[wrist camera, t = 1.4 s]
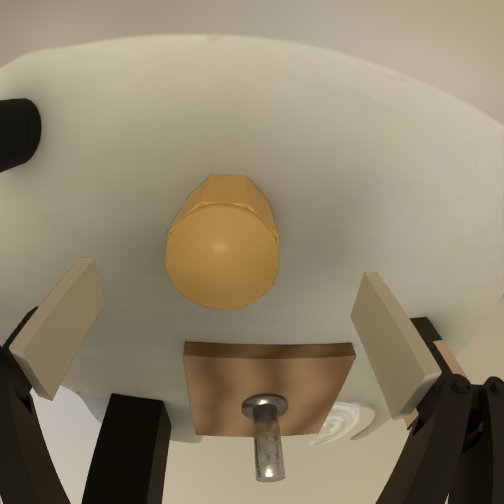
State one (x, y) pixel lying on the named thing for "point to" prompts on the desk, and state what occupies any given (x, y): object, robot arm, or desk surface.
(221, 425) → the walnut board
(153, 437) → the black pillar candle
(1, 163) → the wine bottle
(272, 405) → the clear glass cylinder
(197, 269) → the ochre cap
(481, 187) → the desk surface
